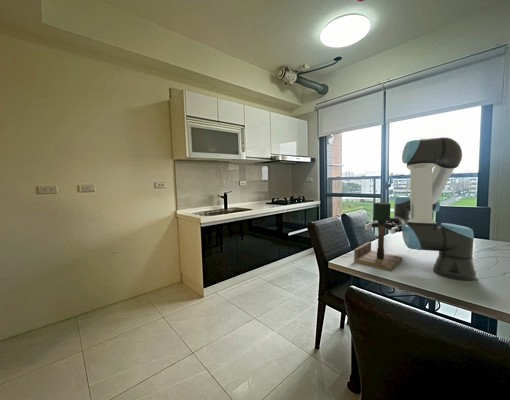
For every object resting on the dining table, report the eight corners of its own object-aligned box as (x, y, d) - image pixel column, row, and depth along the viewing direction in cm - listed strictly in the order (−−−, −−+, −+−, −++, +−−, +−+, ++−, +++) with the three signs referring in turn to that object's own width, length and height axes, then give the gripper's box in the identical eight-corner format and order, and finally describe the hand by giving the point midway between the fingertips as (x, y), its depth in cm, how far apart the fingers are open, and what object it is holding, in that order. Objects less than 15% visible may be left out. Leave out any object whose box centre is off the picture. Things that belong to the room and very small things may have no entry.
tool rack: (368, 253, 138) (368, 241, 137) (402, 260, 125) (402, 248, 124) (354, 261, 124) (354, 249, 124) (390, 270, 111) (391, 257, 111)
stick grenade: (393, 260, 119) (395, 204, 116) (376, 260, 120) (378, 204, 117) (384, 255, 128) (385, 202, 125) (368, 255, 128) (370, 202, 125)
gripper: (419, 233, 124) (404, 240, 111) (373, 226, 143) (355, 232, 130) (419, 220, 123) (405, 225, 110) (373, 214, 143) (356, 219, 129)
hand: (378, 229), depth 120 cm, fingers open, 12 cm apart
